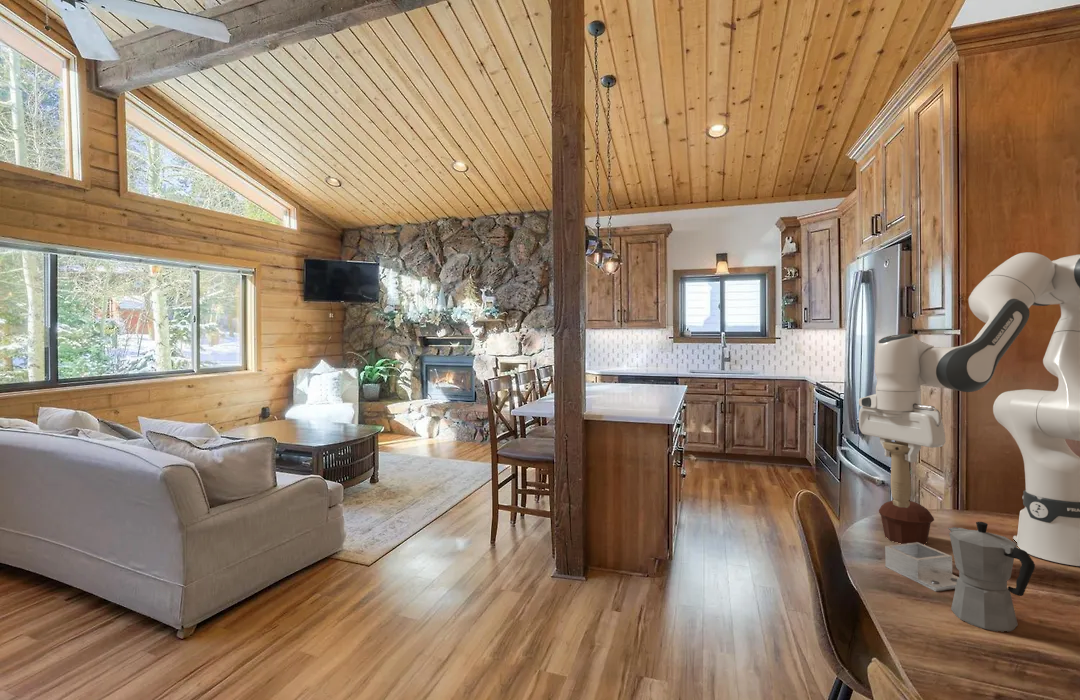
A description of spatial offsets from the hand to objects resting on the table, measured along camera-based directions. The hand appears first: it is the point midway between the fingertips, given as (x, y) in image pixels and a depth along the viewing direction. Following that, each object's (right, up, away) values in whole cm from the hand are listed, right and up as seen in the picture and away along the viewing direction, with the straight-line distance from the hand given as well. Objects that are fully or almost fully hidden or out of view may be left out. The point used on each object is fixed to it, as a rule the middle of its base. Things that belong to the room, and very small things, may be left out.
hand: (900, 459), depth 121 cm
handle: (0, -11, 0) cm, 11 cm away
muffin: (+9, -23, +10) cm, 27 cm away
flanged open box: (-2, -23, -10) cm, 26 cm away
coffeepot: (-4, -24, -29) cm, 37 cm away
